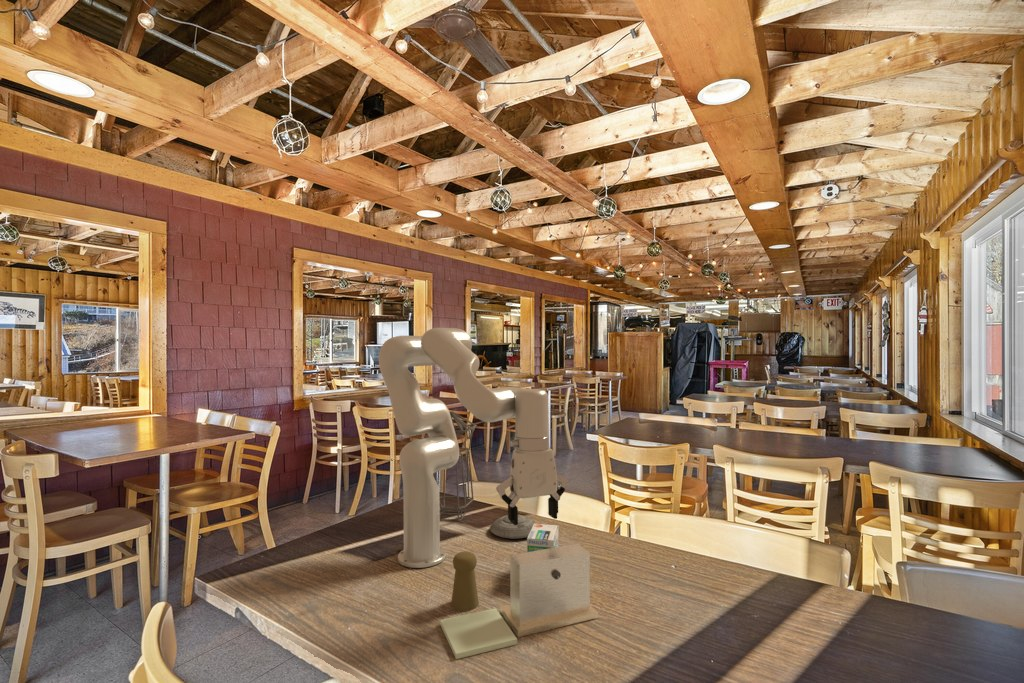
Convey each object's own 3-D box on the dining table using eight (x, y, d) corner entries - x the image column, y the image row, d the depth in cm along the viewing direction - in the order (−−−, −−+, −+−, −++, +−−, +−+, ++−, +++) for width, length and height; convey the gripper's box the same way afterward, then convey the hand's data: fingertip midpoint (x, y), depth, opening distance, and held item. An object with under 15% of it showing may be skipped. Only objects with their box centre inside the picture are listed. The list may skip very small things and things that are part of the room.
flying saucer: (540, 542, 143) (540, 523, 144) (488, 542, 144) (488, 523, 144) (538, 524, 158) (538, 506, 159) (491, 524, 159) (491, 506, 159)
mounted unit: (500, 611, 106) (499, 549, 106) (574, 595, 112) (574, 537, 112) (518, 637, 96) (517, 569, 96) (597, 617, 103) (597, 554, 103)
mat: (440, 624, 101) (440, 619, 101) (495, 612, 105) (495, 608, 105) (456, 659, 90) (456, 653, 90) (517, 644, 94) (517, 638, 94)
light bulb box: (554, 586, 117) (554, 540, 117) (526, 583, 118) (526, 538, 118) (559, 566, 127) (559, 524, 127) (533, 564, 129) (533, 522, 129)
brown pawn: (451, 597, 112) (451, 548, 112) (478, 596, 112) (478, 547, 112) (450, 612, 106) (450, 560, 106) (479, 610, 106) (478, 559, 106)
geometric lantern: (421, 523, 159) (420, 413, 160) (436, 508, 175) (435, 408, 176) (468, 525, 156) (467, 413, 158) (480, 510, 172) (478, 408, 173)
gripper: (502, 450, 105) (503, 531, 105) (574, 443, 112) (575, 519, 111) (490, 444, 112) (491, 520, 112) (558, 438, 119) (560, 510, 118)
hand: (533, 520), depth 112 cm, fingers open, 9 cm apart
